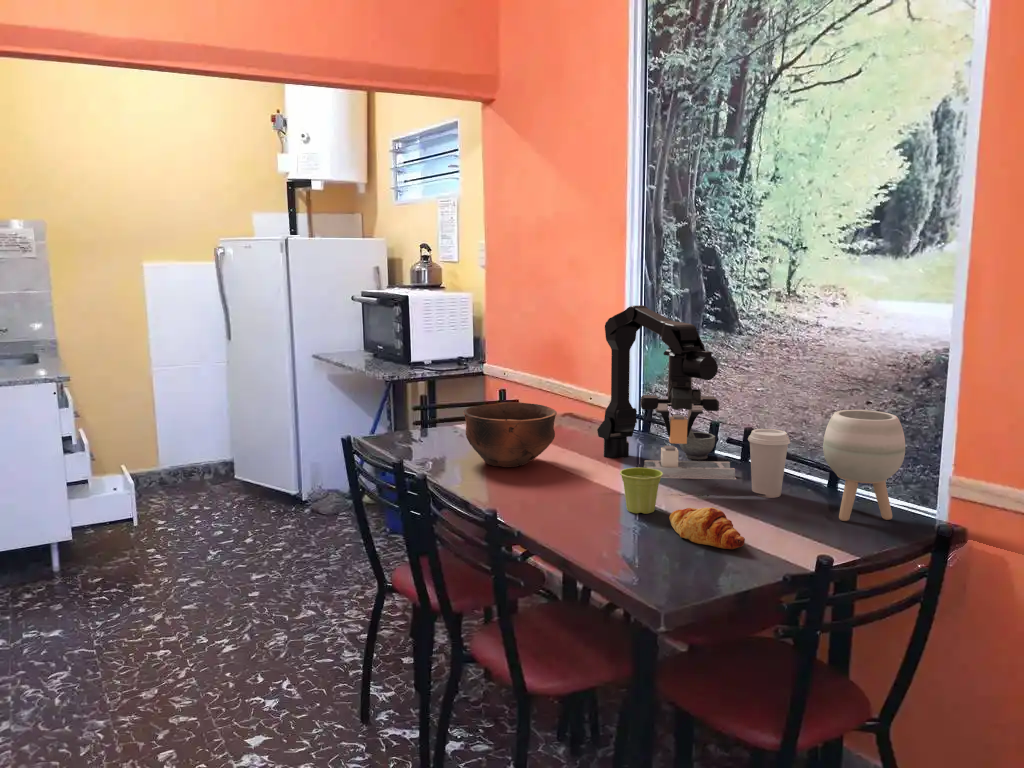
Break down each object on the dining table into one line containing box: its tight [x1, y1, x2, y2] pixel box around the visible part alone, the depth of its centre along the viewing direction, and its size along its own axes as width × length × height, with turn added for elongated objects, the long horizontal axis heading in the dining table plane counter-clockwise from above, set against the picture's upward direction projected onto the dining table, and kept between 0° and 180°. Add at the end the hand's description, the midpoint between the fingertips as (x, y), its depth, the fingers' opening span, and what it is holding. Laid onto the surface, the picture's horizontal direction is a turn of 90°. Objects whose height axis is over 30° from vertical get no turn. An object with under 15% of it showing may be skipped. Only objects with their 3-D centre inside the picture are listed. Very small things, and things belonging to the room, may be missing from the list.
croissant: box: [668, 506, 746, 550], centre depth 162 cm, size 21×10×8 cm, turn 29°
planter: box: [822, 409, 906, 522], centre depth 175 cm, size 16×16×22 cm
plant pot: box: [619, 467, 663, 515], centre depth 180 cm, size 9×9×9 cm
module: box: [668, 414, 688, 445], centre depth 203 cm, size 4×4×7 cm
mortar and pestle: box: [679, 429, 716, 460], centre depth 226 cm, size 11×9×12 cm
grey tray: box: [643, 459, 737, 480], centre depth 210 cm, size 22×12×3 cm, turn 86°
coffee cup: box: [747, 428, 791, 499], centre depth 192 cm, size 10×10×15 cm
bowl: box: [462, 401, 558, 468], centre depth 221 cm, size 25×25×15 cm
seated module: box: [660, 445, 680, 467], centre depth 210 cm, size 4×4×7 cm
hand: (677, 436), depth 203 cm, fingers closed on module, 4 cm apart
